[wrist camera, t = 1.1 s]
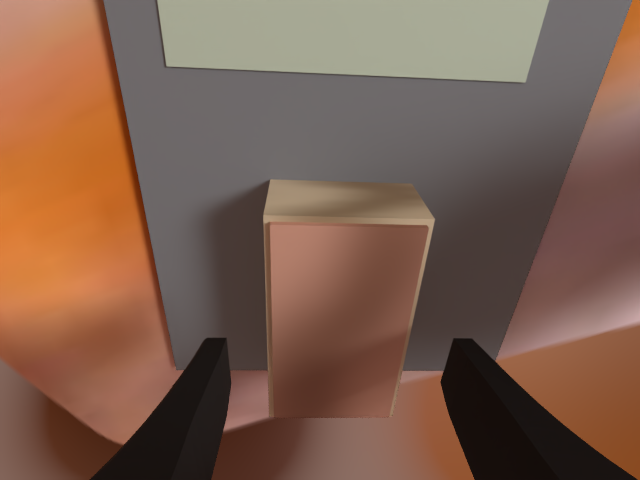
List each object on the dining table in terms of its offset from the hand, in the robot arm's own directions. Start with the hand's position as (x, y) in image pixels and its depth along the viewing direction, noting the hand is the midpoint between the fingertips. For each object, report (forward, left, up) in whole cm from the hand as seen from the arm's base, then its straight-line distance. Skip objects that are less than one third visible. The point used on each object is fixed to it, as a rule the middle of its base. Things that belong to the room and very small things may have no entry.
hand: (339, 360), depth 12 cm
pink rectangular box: (0, 0, -4) cm, 4 cm away
